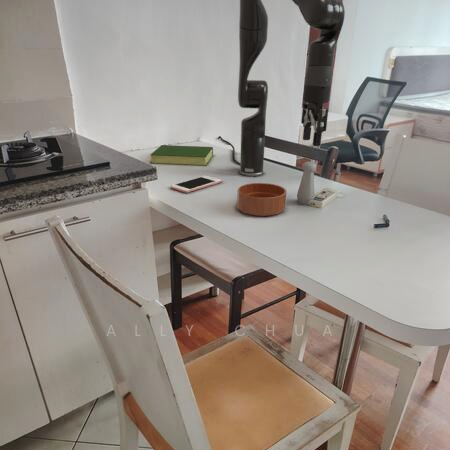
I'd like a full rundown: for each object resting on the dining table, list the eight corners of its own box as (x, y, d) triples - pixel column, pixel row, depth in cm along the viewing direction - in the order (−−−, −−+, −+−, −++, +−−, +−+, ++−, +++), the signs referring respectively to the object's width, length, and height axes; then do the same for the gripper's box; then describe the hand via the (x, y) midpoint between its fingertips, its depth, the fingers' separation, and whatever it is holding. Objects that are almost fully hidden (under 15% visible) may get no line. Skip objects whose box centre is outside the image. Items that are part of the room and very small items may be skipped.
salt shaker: (303, 206, 133) (307, 165, 126) (292, 201, 138) (296, 161, 131) (317, 203, 136) (322, 163, 129) (306, 198, 140) (311, 159, 133)
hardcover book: (212, 155, 191) (212, 146, 189) (205, 165, 175) (205, 156, 173) (160, 153, 194) (160, 145, 192) (149, 163, 178) (148, 154, 176)
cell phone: (221, 182, 155) (221, 179, 154) (186, 193, 144) (186, 190, 143) (205, 177, 160) (205, 175, 159) (170, 188, 149) (169, 185, 148)
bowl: (232, 202, 136) (233, 184, 133) (276, 199, 139) (278, 181, 136) (243, 219, 124) (243, 199, 121) (291, 215, 126) (293, 196, 123)
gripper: (297, 81, 123) (292, 138, 132) (314, 85, 111) (307, 148, 120) (320, 81, 124) (314, 137, 133) (340, 85, 112) (332, 147, 121)
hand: (311, 142), depth 126 cm, fingers open, 8 cm apart
